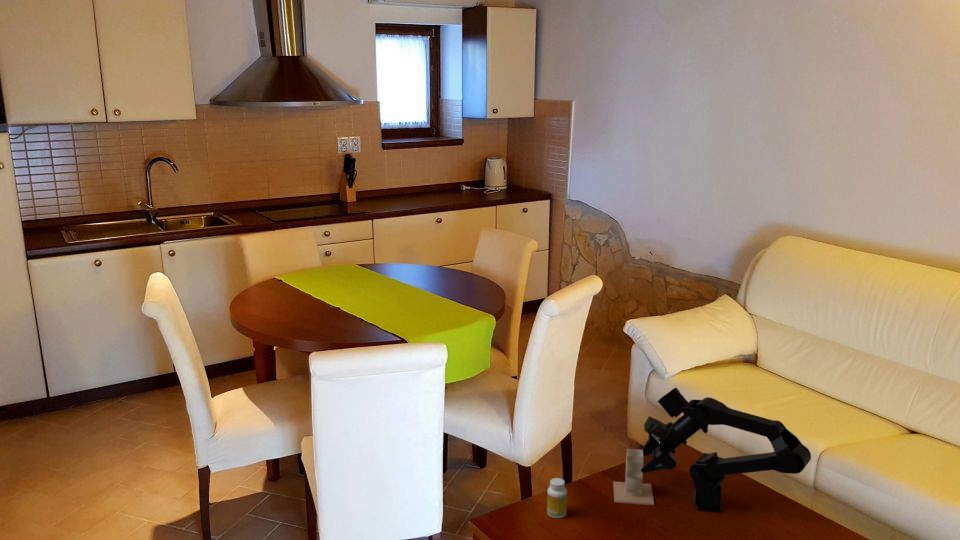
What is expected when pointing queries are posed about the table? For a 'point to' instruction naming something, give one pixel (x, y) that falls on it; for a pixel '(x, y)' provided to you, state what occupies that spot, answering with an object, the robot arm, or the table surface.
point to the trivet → (622, 498)
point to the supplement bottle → (557, 498)
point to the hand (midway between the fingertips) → (640, 463)
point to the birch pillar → (634, 472)
